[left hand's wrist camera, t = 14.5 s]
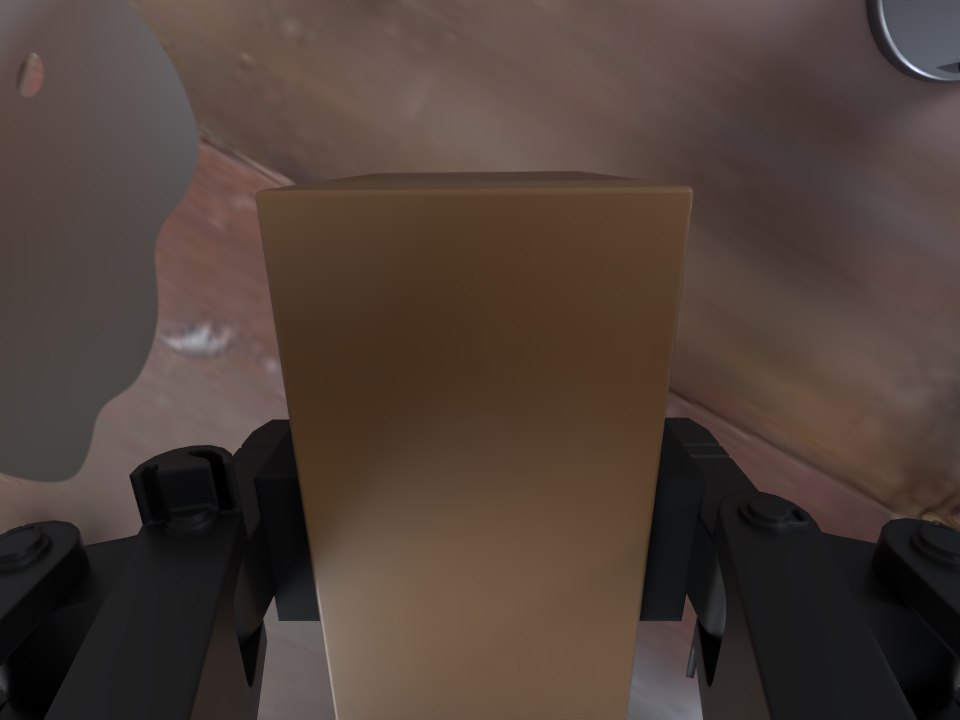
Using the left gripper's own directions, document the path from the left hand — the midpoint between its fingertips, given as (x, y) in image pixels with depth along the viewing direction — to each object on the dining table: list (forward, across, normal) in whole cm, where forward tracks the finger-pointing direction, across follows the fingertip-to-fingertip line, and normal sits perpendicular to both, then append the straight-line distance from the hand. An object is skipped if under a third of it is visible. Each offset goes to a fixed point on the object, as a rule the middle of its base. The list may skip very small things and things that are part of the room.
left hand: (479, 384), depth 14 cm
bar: (+1, 0, -25) cm, 25 cm away
